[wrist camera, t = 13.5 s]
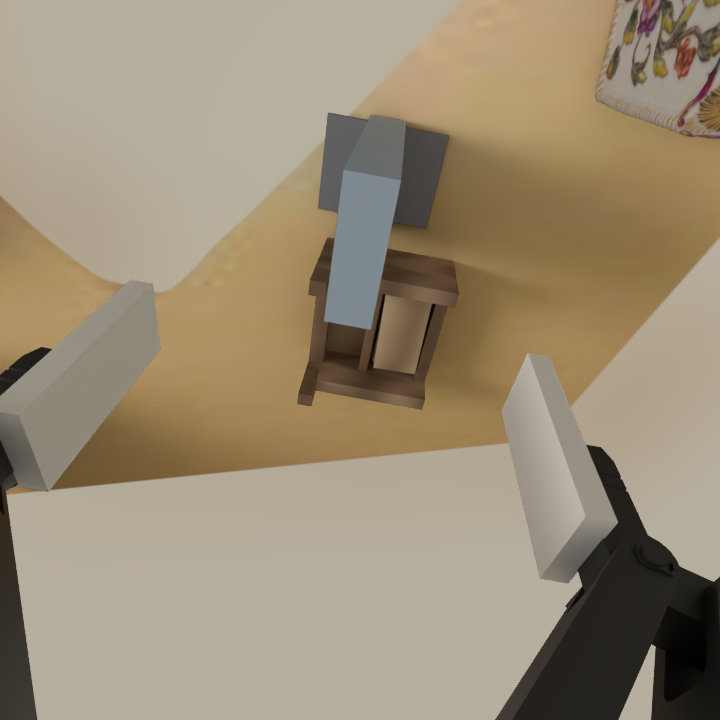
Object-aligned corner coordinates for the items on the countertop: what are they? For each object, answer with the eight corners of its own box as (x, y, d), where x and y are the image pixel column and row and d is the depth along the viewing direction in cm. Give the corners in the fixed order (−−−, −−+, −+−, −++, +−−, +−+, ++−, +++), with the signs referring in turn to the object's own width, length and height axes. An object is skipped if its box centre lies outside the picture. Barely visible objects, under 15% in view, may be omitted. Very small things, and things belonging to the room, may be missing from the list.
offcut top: (374, 358, 43) (373, 367, 42) (387, 281, 39) (386, 289, 37) (414, 364, 43) (414, 374, 42) (432, 288, 39) (433, 296, 37)
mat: (319, 206, 38) (318, 208, 38) (328, 112, 34) (328, 113, 34) (425, 226, 38) (426, 228, 38) (448, 135, 34) (449, 136, 34)
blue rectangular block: (354, 221, 38) (323, 321, 25) (371, 114, 34) (343, 169, 21) (385, 227, 38) (370, 329, 25) (406, 121, 34) (401, 180, 21)
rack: (314, 350, 47) (297, 403, 40) (327, 237, 40) (309, 279, 33) (421, 370, 47) (421, 426, 40) (453, 261, 40) (461, 308, 33)
